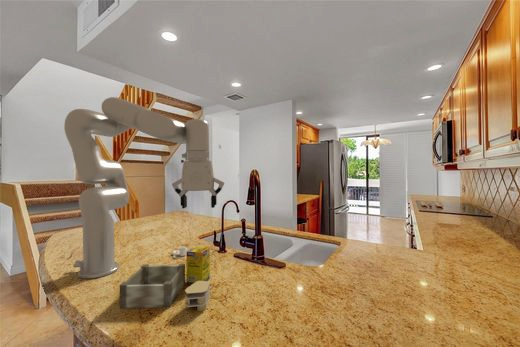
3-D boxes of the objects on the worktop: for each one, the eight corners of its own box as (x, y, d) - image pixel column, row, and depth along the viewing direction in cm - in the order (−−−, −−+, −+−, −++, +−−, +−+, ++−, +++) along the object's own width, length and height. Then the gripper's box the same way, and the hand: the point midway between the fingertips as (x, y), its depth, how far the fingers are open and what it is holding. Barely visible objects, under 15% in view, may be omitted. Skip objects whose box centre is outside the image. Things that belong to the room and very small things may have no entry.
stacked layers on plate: (190, 295, 69) (190, 277, 69) (219, 297, 68) (219, 279, 68) (174, 317, 59) (174, 295, 59) (208, 319, 58) (207, 297, 58)
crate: (119, 308, 62) (119, 285, 62) (143, 283, 75) (143, 264, 75) (170, 307, 62) (170, 284, 62) (185, 282, 76) (184, 263, 76)
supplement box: (202, 286, 74) (202, 252, 74) (186, 284, 75) (185, 251, 75) (210, 277, 80) (210, 246, 79) (194, 276, 81) (194, 245, 81)
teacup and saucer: (169, 255, 102) (169, 246, 102) (187, 251, 107) (186, 242, 107) (177, 261, 95) (177, 251, 95) (195, 256, 100) (194, 247, 100)
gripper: (167, 156, 73) (169, 210, 73) (222, 155, 73) (223, 208, 73) (175, 158, 80) (176, 206, 80) (224, 157, 81) (225, 205, 81)
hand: (198, 207), depth 77 cm, fingers open, 9 cm apart
